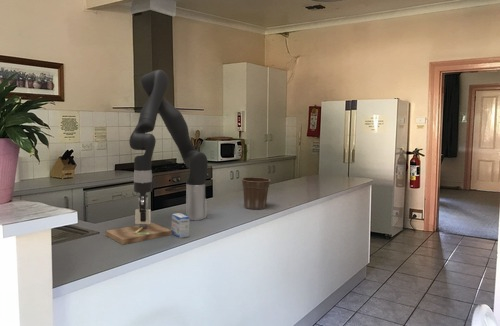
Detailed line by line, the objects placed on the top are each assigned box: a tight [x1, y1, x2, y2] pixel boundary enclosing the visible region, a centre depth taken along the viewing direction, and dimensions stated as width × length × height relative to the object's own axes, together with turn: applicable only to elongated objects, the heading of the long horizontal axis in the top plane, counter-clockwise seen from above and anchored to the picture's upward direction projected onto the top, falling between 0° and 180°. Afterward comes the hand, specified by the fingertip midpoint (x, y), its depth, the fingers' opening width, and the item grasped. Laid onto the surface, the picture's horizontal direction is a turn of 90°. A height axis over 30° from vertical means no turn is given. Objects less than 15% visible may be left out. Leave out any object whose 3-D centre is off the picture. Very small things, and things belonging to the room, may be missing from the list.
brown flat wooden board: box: [105, 222, 173, 246], centre depth 175 cm, size 22×16×2 cm
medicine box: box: [171, 212, 190, 239], centre depth 177 cm, size 8×4×9 cm, turn 37°
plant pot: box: [241, 176, 272, 210], centre depth 234 cm, size 16×16×16 cm
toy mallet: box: [134, 208, 152, 234], centre depth 174 cm, size 11×6×8 cm, turn 176°
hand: (143, 220), depth 178 cm, fingers closed on toy mallet, 2 cm apart
